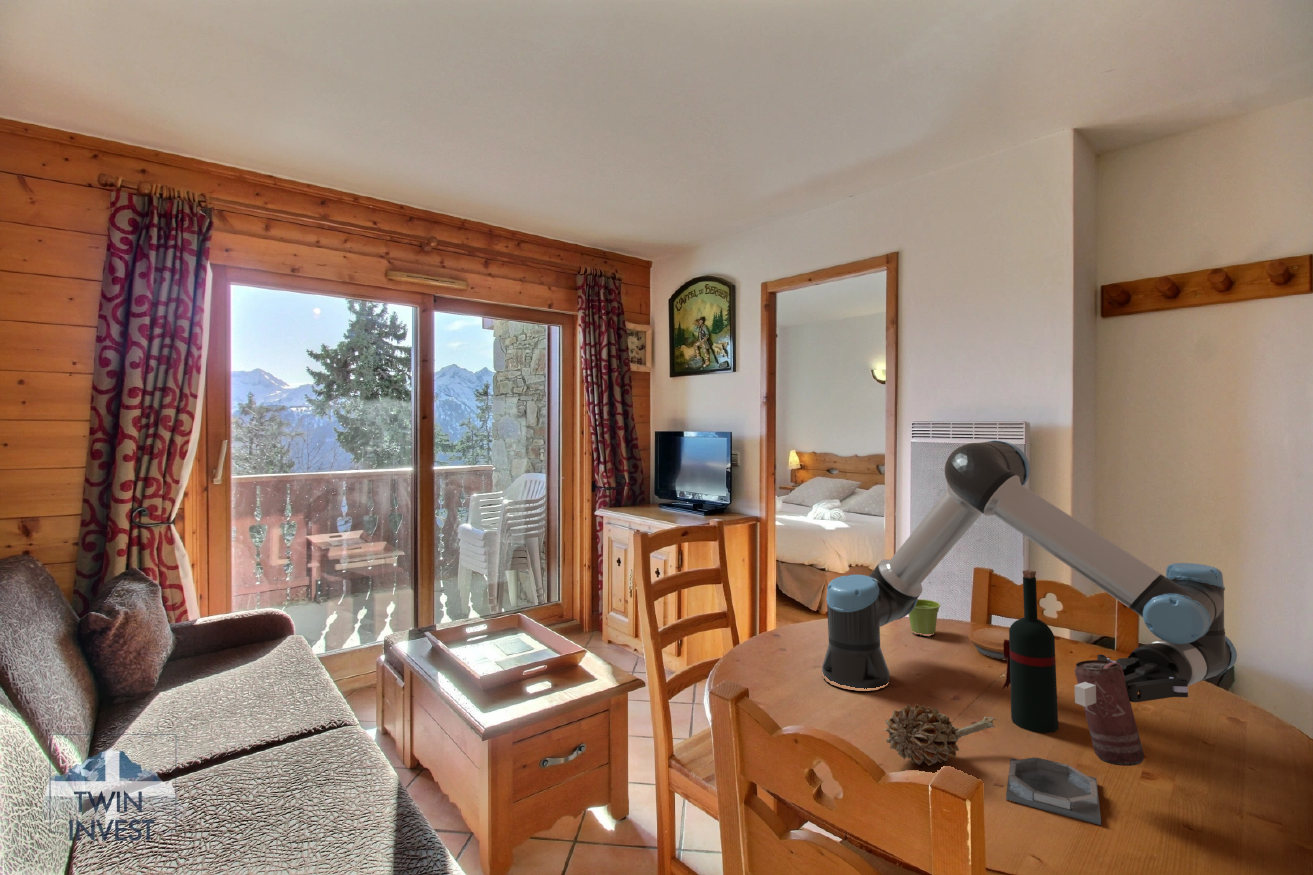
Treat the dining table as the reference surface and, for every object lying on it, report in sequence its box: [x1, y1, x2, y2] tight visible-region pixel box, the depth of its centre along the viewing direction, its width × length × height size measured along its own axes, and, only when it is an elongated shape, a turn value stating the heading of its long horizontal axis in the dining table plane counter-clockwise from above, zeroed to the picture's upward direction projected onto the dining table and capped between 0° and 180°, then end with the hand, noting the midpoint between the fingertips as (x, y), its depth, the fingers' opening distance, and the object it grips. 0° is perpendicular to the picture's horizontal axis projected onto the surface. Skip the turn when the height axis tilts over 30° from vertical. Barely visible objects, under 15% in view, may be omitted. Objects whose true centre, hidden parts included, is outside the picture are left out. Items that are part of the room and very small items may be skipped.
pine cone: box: [883, 703, 997, 766], centre depth 107 cm, size 22×10×10 cm, turn 109°
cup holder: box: [1005, 757, 1102, 826], centre depth 96 cm, size 12×12×2 cm
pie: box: [968, 627, 1010, 661], centre depth 154 cm, size 15×16×5 cm
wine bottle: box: [1001, 569, 1059, 734], centre depth 119 cm, size 8×10×30 cm
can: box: [1074, 659, 1145, 767], centre depth 93 cm, size 6×6×14 cm
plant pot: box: [907, 598, 941, 634], centre depth 170 cm, size 9×9×9 cm
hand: (1080, 695), depth 91 cm, fingers closed
